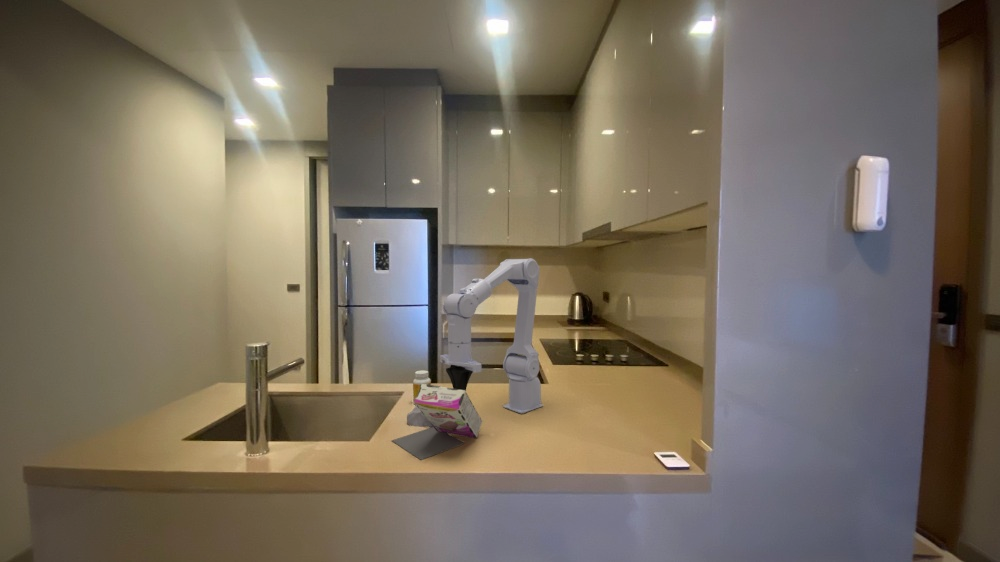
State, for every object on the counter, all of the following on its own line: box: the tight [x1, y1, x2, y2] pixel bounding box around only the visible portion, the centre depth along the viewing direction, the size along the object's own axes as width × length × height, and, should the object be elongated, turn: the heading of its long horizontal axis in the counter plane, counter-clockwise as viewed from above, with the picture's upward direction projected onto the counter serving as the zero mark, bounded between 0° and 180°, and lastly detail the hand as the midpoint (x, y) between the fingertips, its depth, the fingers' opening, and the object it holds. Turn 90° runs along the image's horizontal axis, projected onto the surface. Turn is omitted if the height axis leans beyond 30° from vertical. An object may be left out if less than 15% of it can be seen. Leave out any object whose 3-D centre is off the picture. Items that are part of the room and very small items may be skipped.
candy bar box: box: [413, 384, 483, 440], centre depth 93 cm, size 11×5×16 cm
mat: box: [391, 427, 466, 461], centre depth 95 cm, size 12×13×1 cm
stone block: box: [406, 405, 433, 428], centre depth 110 cm, size 12×5×10 cm
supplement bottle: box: [412, 370, 432, 406], centre depth 122 cm, size 5×5×10 cm
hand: (459, 395), depth 100 cm, fingers closed
